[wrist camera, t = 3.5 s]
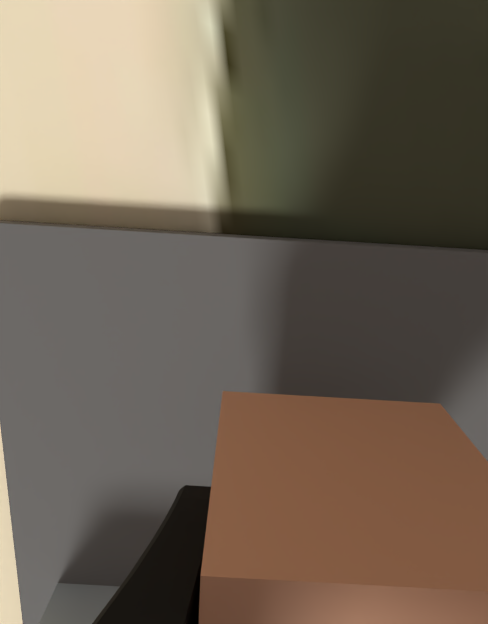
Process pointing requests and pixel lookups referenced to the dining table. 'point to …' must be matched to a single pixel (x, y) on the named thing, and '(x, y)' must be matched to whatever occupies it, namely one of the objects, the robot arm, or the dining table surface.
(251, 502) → the terracotta block
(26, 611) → the mat
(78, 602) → the slate block
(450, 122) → the dining table surface
